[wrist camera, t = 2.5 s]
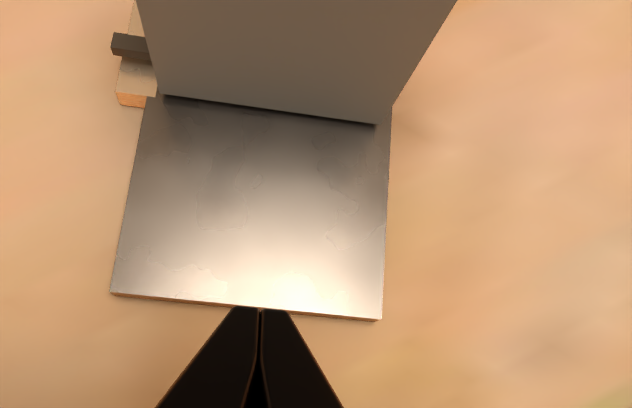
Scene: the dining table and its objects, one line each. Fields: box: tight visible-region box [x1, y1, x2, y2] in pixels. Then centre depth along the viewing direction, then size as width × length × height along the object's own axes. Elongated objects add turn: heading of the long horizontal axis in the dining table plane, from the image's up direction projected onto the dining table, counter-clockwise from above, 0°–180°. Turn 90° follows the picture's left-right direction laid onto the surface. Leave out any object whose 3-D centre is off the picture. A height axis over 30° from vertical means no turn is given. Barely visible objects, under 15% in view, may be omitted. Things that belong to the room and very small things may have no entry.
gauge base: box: [109, 0, 392, 322], centre depth 22 cm, size 22×10×1 cm, turn 175°
